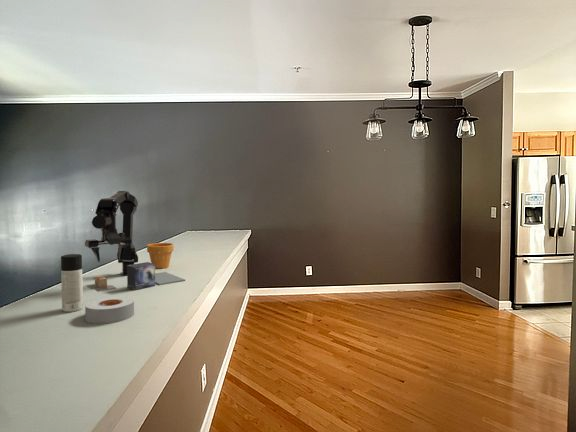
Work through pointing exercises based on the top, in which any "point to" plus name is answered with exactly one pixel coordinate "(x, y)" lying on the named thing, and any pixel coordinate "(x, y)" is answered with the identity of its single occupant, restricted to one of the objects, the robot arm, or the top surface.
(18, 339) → the top surface
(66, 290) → the spray can
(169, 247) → the flower pot
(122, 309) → the tape roll
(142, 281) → the small box
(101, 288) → the turner
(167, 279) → the mat
